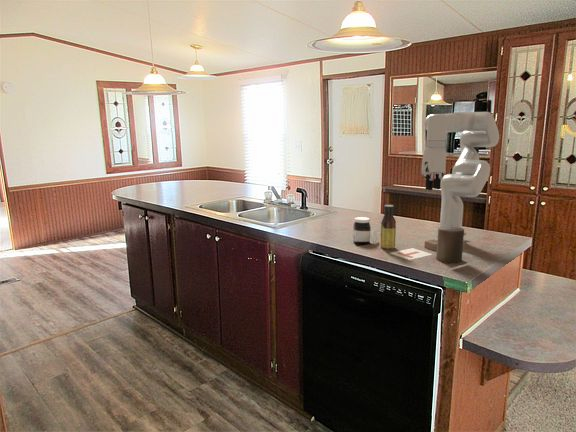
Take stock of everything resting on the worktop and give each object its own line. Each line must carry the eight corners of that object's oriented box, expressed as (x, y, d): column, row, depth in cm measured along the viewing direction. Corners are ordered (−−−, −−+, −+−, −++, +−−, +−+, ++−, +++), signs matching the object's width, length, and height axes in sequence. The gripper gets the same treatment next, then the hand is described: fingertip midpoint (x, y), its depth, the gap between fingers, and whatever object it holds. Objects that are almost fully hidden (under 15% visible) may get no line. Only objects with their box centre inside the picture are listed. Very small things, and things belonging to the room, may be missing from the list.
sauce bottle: (384, 246, 188) (386, 203, 183) (397, 249, 184) (399, 204, 180) (377, 250, 183) (379, 205, 178) (390, 252, 179) (392, 207, 175)
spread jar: (351, 240, 199) (352, 216, 197) (375, 239, 199) (376, 216, 197) (355, 247, 188) (356, 221, 185) (380, 246, 188) (381, 221, 185)
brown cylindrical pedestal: (461, 266, 160) (464, 228, 157) (434, 263, 164) (437, 226, 161) (461, 259, 169) (464, 223, 166) (436, 256, 173) (439, 221, 170)
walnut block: (433, 247, 186) (434, 239, 186) (444, 251, 181) (445, 242, 180) (424, 249, 183) (424, 241, 183) (435, 253, 178) (435, 244, 178)
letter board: (412, 249, 183) (412, 248, 183) (432, 256, 174) (432, 254, 173) (389, 254, 176) (389, 253, 175) (409, 261, 166) (409, 259, 166)
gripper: (441, 144, 178) (438, 186, 182) (414, 145, 170) (411, 189, 173) (456, 144, 172) (453, 188, 176) (429, 145, 163) (426, 192, 167)
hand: (432, 188), depth 175 cm, fingers open, 3 cm apart
